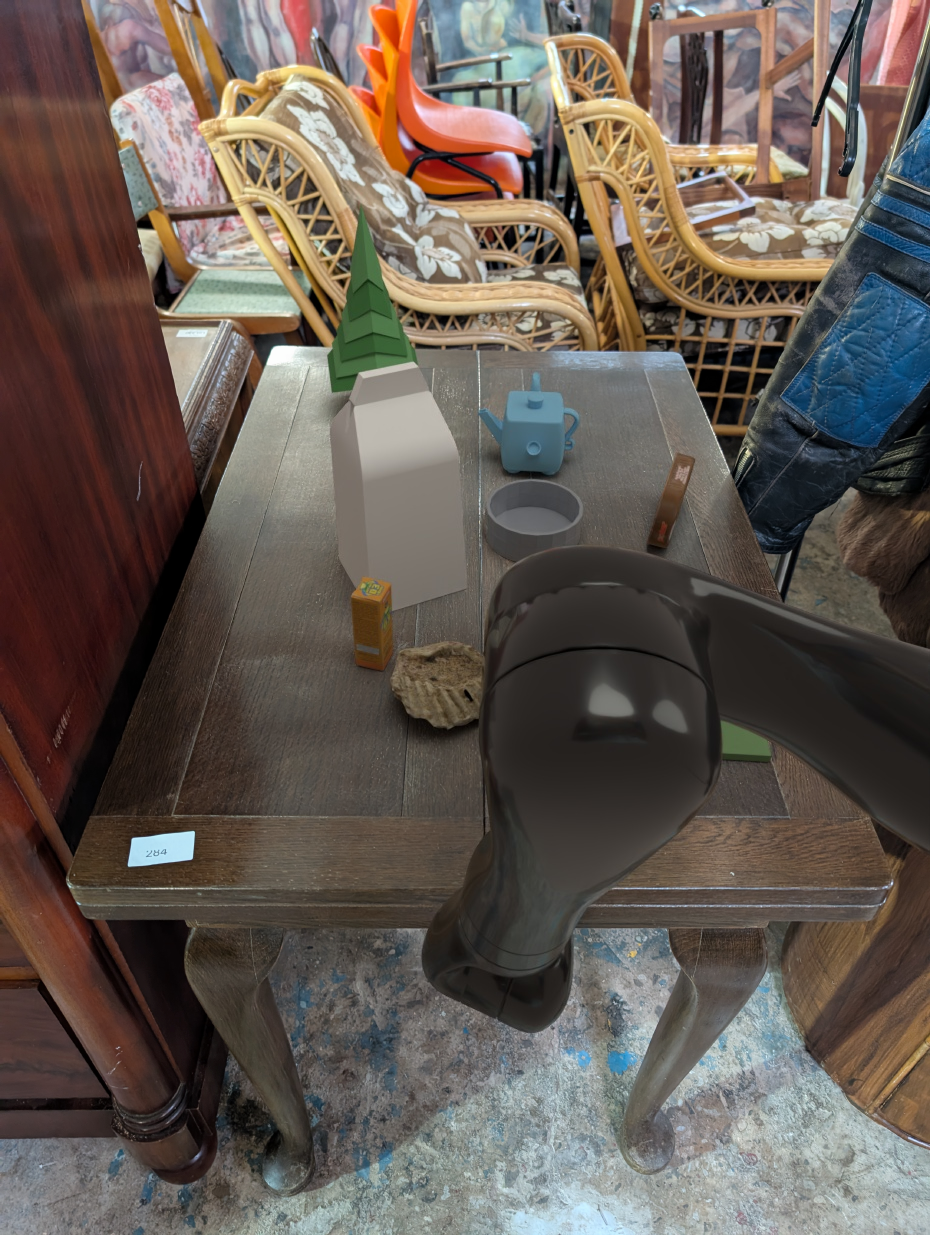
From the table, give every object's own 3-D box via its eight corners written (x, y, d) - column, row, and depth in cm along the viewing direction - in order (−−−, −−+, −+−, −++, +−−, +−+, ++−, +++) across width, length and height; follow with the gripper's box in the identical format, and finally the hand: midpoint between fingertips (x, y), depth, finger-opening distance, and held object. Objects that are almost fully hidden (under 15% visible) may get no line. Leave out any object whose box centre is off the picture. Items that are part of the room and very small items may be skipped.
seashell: (490, 752, 80) (509, 659, 83) (493, 736, 73) (514, 636, 77) (381, 728, 80) (405, 638, 84) (375, 710, 74) (401, 613, 78)
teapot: (576, 497, 108) (584, 431, 101) (473, 492, 108) (474, 426, 101) (573, 430, 121) (580, 368, 114) (481, 426, 122) (482, 364, 115)
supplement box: (385, 673, 84) (379, 602, 77) (355, 666, 84) (346, 595, 78) (396, 651, 86) (391, 581, 79) (367, 645, 87) (359, 574, 80)
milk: (372, 617, 90) (350, 408, 72) (339, 559, 98) (312, 357, 80) (467, 588, 94) (469, 382, 76) (429, 535, 101) (422, 336, 84)
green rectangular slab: (768, 762, 75) (771, 755, 75) (705, 758, 76) (707, 752, 75) (752, 698, 81) (755, 692, 80) (693, 695, 81) (695, 689, 81)
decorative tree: (351, 383, 132) (330, 184, 111) (439, 399, 128) (434, 195, 108) (312, 422, 122) (282, 211, 102) (406, 439, 119) (394, 225, 98)
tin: (664, 493, 108) (676, 438, 103) (687, 498, 108) (700, 443, 102) (642, 557, 98) (653, 500, 92) (667, 563, 97) (680, 506, 92)
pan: (597, 548, 99) (602, 519, 96) (513, 575, 96) (515, 545, 92) (549, 499, 107) (551, 470, 104) (469, 521, 103) (469, 492, 100)
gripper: (651, 776, 62) (692, 632, 74) (493, 725, 66) (555, 596, 77) (637, 828, 67) (677, 685, 79) (491, 779, 71) (550, 649, 82)
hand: (617, 641), depth 78 cm, fingers closed
